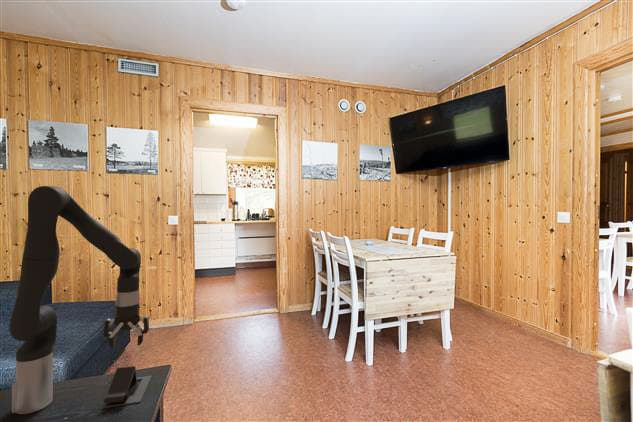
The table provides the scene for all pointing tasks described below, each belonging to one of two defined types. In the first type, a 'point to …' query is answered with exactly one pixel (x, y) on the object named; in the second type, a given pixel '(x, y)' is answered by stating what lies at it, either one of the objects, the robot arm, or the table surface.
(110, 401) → the phone stand
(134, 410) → the table surface
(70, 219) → the robot arm
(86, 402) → the table surface
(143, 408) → the table surface
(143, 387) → the bracket
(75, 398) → the table surface
